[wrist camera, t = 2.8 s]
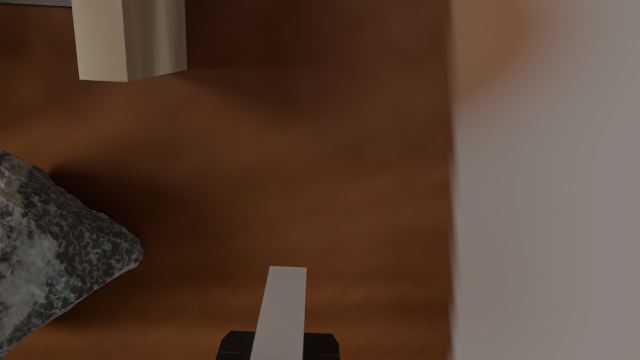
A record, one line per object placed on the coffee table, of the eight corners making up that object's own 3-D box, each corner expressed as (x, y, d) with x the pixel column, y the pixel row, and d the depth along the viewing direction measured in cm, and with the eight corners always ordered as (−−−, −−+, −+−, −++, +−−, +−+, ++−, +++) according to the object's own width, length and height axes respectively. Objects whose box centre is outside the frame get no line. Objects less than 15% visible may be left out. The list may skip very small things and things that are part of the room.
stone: (-31, 487, 15) (-194, 215, 12) (-84, 380, 21) (-199, 186, 18) (200, 321, 22) (136, 120, 18) (107, 278, 28) (47, 124, 25)
